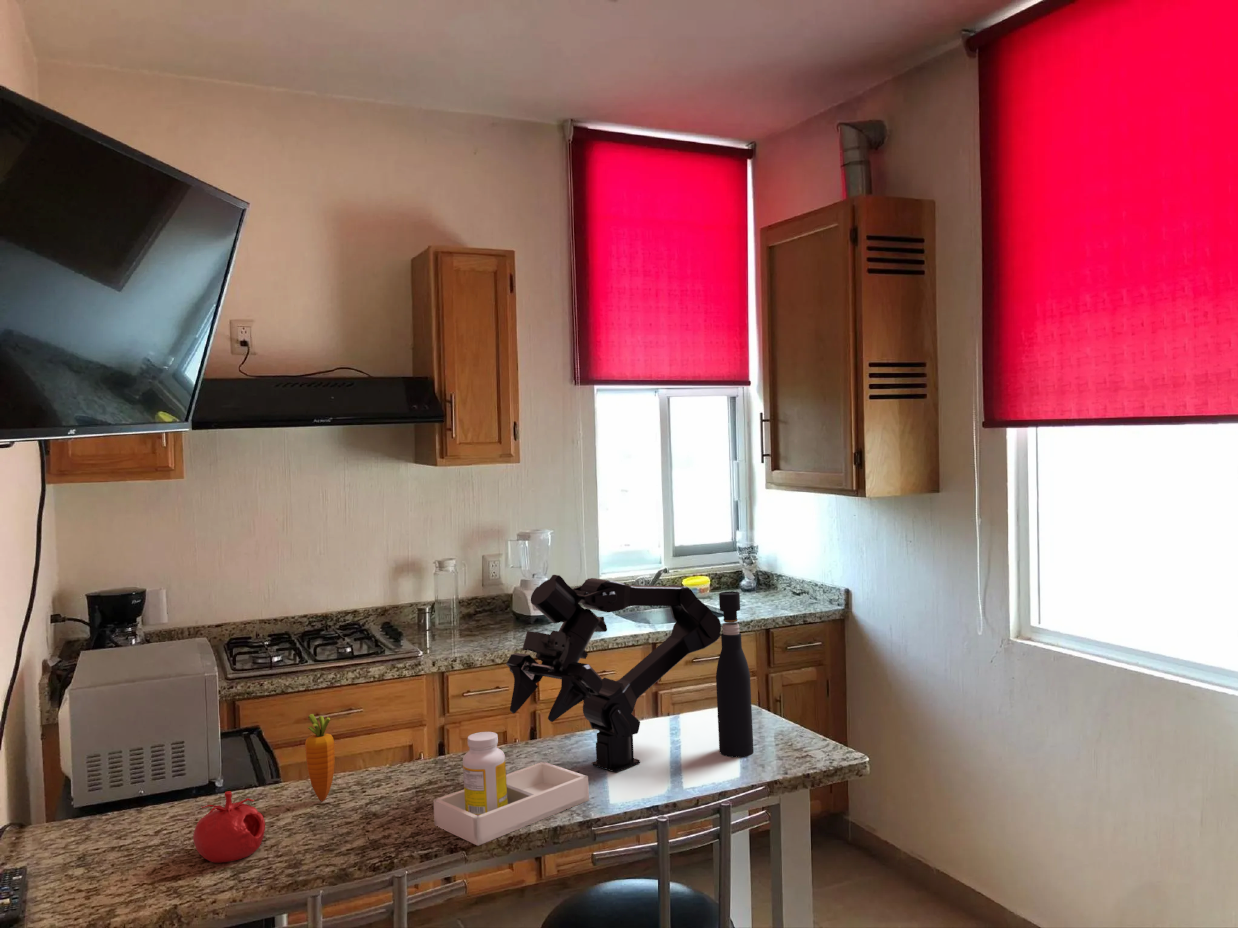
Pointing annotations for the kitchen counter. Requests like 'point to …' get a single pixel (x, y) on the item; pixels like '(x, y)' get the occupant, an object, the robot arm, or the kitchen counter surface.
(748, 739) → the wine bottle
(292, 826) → the kitchen counter surface
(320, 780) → the carrot
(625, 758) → the robot arm
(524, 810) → the slot organizer
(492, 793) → the supplement bottle
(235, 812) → the red tomato
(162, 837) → the kitchen counter surface
